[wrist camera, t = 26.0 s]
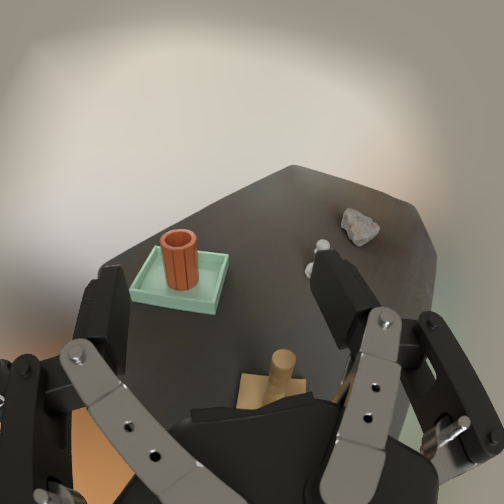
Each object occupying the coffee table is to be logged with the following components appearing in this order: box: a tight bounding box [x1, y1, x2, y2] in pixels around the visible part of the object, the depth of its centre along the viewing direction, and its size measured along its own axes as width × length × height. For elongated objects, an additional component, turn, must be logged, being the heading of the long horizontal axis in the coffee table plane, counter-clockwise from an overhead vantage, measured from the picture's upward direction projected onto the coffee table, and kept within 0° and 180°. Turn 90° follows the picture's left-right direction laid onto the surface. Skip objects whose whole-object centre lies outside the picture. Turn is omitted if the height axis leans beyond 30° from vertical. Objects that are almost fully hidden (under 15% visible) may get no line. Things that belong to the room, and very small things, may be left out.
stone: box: [341, 208, 380, 247], centre depth 70 cm, size 10×8×6 cm
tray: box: [129, 246, 229, 315], centre depth 54 cm, size 15×13×3 cm
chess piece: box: [305, 240, 330, 279], centre depth 57 cm, size 5×5×8 cm
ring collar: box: [160, 229, 199, 291], centre depth 52 cm, size 6×6×9 cm
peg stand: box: [236, 349, 306, 409], centre depth 33 cm, size 9×9×12 cm
